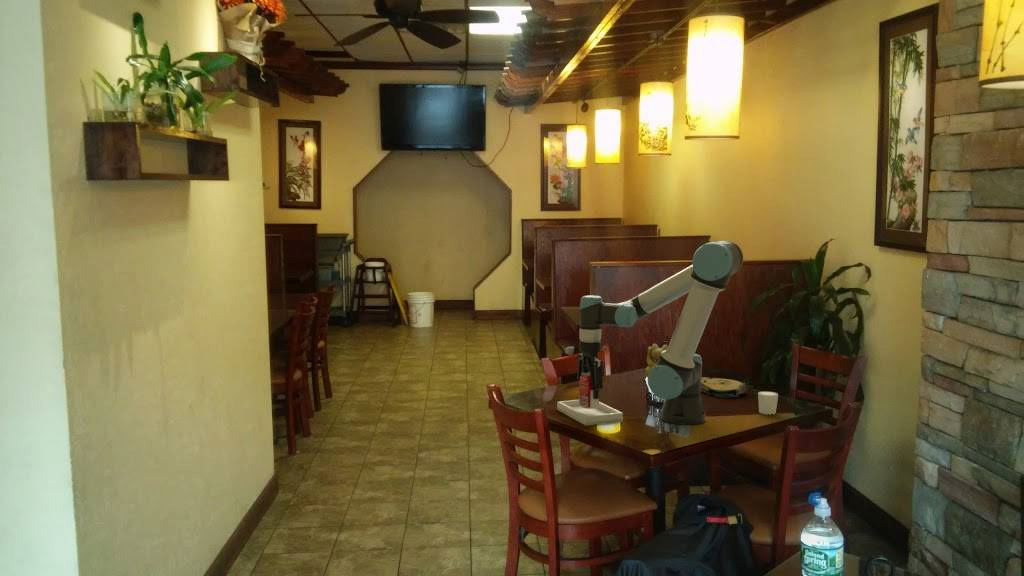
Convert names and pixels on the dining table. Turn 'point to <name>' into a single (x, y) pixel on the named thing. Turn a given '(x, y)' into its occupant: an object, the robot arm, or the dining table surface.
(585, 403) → the soda can
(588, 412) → the bussing tray
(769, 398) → the white cup
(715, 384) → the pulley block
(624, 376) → the dining table surface
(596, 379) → the robot arm
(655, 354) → the decorative figurine
